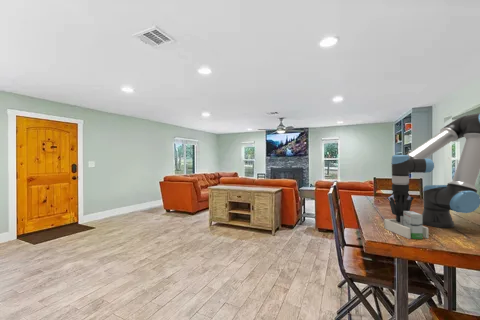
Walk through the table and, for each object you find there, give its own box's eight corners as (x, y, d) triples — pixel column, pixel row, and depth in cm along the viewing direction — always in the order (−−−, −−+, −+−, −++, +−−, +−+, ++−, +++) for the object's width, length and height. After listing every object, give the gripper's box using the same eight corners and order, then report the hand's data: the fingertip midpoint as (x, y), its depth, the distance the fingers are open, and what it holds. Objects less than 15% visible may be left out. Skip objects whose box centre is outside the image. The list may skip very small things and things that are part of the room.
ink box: (423, 239, 110) (423, 214, 110) (411, 238, 111) (411, 214, 111) (413, 233, 119) (413, 210, 119) (402, 233, 120) (402, 210, 120)
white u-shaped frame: (401, 227, 129) (401, 218, 129) (428, 238, 112) (428, 227, 112) (384, 228, 129) (384, 219, 129) (408, 238, 111) (408, 228, 111)
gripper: (406, 183, 127) (407, 226, 127) (383, 183, 126) (384, 226, 126) (417, 184, 119) (418, 230, 119) (393, 184, 119) (393, 230, 119)
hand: (400, 228), depth 123 cm, fingers closed
